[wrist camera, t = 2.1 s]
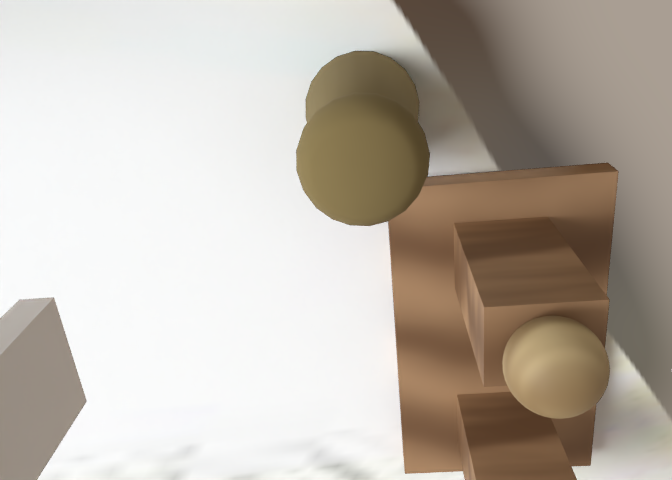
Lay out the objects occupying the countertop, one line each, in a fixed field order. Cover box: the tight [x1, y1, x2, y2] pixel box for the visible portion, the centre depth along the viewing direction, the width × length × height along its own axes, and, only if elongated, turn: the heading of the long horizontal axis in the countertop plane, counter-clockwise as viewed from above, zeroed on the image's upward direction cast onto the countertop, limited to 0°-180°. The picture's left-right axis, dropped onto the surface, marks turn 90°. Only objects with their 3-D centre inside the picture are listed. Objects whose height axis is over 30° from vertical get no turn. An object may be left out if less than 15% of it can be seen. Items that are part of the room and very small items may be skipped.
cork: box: [296, 51, 430, 226], centre depth 28 cm, size 6×6×11 cm
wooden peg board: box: [388, 163, 618, 480], centre depth 31 cm, size 20×12×14 cm, turn 5°
